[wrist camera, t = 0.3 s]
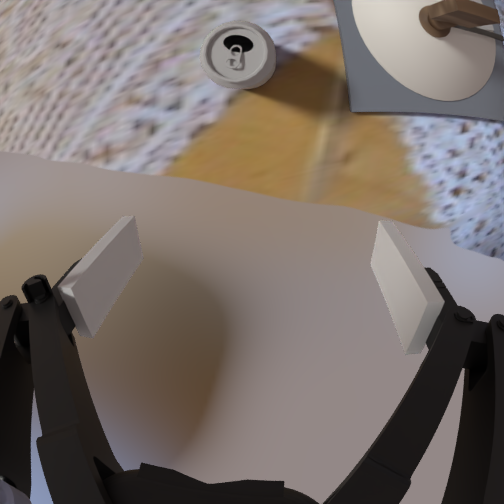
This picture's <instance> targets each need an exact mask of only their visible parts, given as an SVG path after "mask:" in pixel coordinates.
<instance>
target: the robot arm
mask: <svg viewBox="0 0 504 504" xmlns="http://www.w3.org/2000/svg"><path fill="white" fill-rule="evenodd" d="M142 260H143V253H142V249H141V244H140V240H139V235H138V230H137V225H136V220H135V216H123V217H122V218H121V219H120V220H119V221H118V222H117V223H116V224H115V225H114V226H113V227H112V228H111V229H110V230H109V231H108V232H107V233H106V234H105V235H104V236H103V237H102V238H101V239H100V240H99V241H98V242H97V243H96V244H95V245H94V246H93V248H92V249H91V250H90V251H89V252H88V253H87V254H86V255H85V256H84V257H83V258H81V259H80V260H78V261H77V262H75V263H74V264H73V265H72V266H71V267H70V268H69V269H68V271H67V272H66V273H65V274H64V276H62V277H61V279H60V280H59V281H58V282H57V283H56V284H55V285H54V287H53V288H52V289H51V287H50V285H49V283H48V280H47V278H46V276H45V275H35V276H33V277H31V278H29V279H28V280H27V281H25V283H24V284H23V285H22V291H23V293H24V295H25V297H26V299H27V301H28V303H23V304H20V302H19V300H18V298H17V296H14V295H10V296H7V297H5V298H3V299H2V300H1V301H0V504H31V501H30V493H31V418H32V417H31V416H32V403H33V392H34V390H35V397H36V403H37V409H38V415H39V420H40V424H41V429H42V436H41V437H38V438H37V441H36V442H37V449H38V453H39V457H40V461H41V465H42V469H43V472H44V476H45V479H46V482H47V486H48V489H49V492H50V495H51V498H52V501H53V503H54V504H319V503H318V502H316V501H315V500H313V499H312V498H310V497H309V496H307V495H305V494H303V493H301V492H298V491H296V490H293V489H289V488H285V487H284V481H264V480H241V481H233V482H225V483H216V484H207V483H204V482H201V481H198V480H196V479H194V478H191V477H189V476H187V475H184V474H182V473H180V472H177V471H175V470H172V469H167V468H162V467H158V466H154V465H150V464H145V463H141V465H140V469H136V470H127V471H124V470H123V469H122V467H121V466H120V464H119V463H118V462H117V460H116V459H115V456H114V455H113V452H112V450H111V448H110V445H109V443H108V440H107V438H106V436H105V433H104V431H103V428H102V426H101V423H100V420H99V418H98V415H97V412H96V409H95V406H94V404H93V401H92V398H91V395H90V392H89V389H88V386H87V382H86V379H85V376H84V372H83V369H82V365H81V361H80V358H79V354H78V350H77V346H76V342H75V338H74V336H73V334H72V330H73V329H74V327H76V329H77V331H78V333H79V335H80V336H84V337H89V338H94V336H95V334H96V333H97V331H98V329H99V328H100V326H101V324H102V323H103V321H104V319H105V317H106V316H107V314H108V313H109V311H110V309H111V308H112V306H113V305H114V303H115V301H116V300H117V298H118V297H119V295H120V294H121V292H122V290H123V289H124V287H125V286H126V284H127V282H128V281H129V279H130V278H131V277H132V275H133V273H134V272H135V270H136V269H137V267H138V266H139V264H140V263H141V262H142ZM371 267H372V270H373V272H374V274H375V277H376V279H377V281H378V284H379V286H380V289H381V291H382V294H383V296H384V299H385V301H386V304H387V306H388V309H389V312H390V314H391V317H392V320H393V322H394V325H395V328H396V331H397V333H398V336H399V339H400V342H401V345H402V347H403V351H404V353H405V355H407V354H418V353H421V351H422V350H423V348H424V346H425V344H427V347H428V349H429V351H428V353H427V355H426V357H425V359H424V361H423V362H422V364H421V366H420V368H419V370H418V372H417V374H416V376H415V378H414V379H413V381H412V383H411V385H410V386H409V388H408V390H407V392H406V393H405V395H404V397H403V398H402V400H401V402H400V403H399V405H398V407H397V408H396V410H395V411H394V413H393V415H392V416H391V418H390V419H389V421H388V422H387V424H386V425H385V427H384V428H383V430H382V431H381V432H380V434H379V435H378V437H377V438H376V440H375V441H374V443H373V444H372V445H371V447H370V448H369V449H368V451H367V452H366V453H365V455H364V456H363V457H362V459H361V460H360V461H359V463H358V464H357V465H356V466H355V467H354V469H353V470H352V471H351V472H350V474H349V475H348V476H347V477H346V479H345V480H344V481H343V482H342V483H341V484H340V485H339V487H338V488H337V489H336V490H335V491H334V492H333V493H332V494H331V495H330V496H329V497H328V498H327V499H326V501H325V502H324V503H323V504H399V503H400V501H401V500H402V498H403V497H404V495H405V494H406V492H407V490H408V489H409V487H410V484H411V480H410V478H411V476H412V474H413V472H414V471H415V469H416V467H417V466H418V464H419V462H420V460H421V459H422V457H423V455H424V453H425V451H426V449H427V447H428V446H429V444H430V442H431V440H432V438H433V436H434V434H435V432H436V430H437V428H438V426H439V424H440V422H441V419H442V417H443V415H444V413H445V410H446V408H447V406H448V404H449V401H450V399H451V396H452V394H453V392H454V389H455V386H456V384H457V381H458V379H459V376H460V373H461V370H462V368H465V373H464V388H463V398H462V408H461V416H460V423H459V430H458V436H457V442H456V447H455V452H454V457H453V462H452V466H451V470H450V474H449V479H448V483H447V486H446V490H445V493H444V497H443V500H442V503H441V504H504V316H503V315H501V314H495V315H493V316H492V317H491V319H490V321H489V323H487V322H482V321H477V320H476V318H475V316H474V314H473V313H472V312H471V311H470V310H468V309H466V308H465V307H462V306H458V305H457V304H456V302H455V300H454V299H453V297H452V296H451V294H450V292H449V291H448V289H447V288H446V286H445V284H444V283H442V280H441V278H440V277H439V275H438V274H437V273H436V272H435V271H433V270H432V269H431V268H424V267H423V265H422V264H421V262H420V261H419V259H418V258H417V256H416V255H415V253H414V252H413V250H412V249H411V247H410V246H409V244H408V243H407V241H406V240H405V239H404V237H403V236H402V234H401V233H400V231H399V230H398V228H397V227H396V226H395V224H394V223H393V222H392V221H383V220H379V224H378V229H377V235H376V240H375V245H374V250H373V255H372V260H371ZM14 341H15V342H14Z"/></svg>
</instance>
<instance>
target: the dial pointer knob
mask: <svg viewBox="0 0 504 504" xmlns="http://www.w3.org/2000/svg"><path fill="white" fill-rule="evenodd" d="M419 21H420V24H421V26H422V27H423V29H424V30H425V31H426V32H427V33H428V34H430V35H431V36H434V37H437V38H441V37H445V36H447V35H448V34H449V33H450V30H451V27H454V28H458V29H462V30H466V31H470V32H474V33H477V34H481V35H484V36H488V37H491V38H494V39H497V40H500V41H504V38H503V36H502V35H499V34H496V33H493V32H490V31H487V30H484V29H481V28H477V27H478V26H485V25H492V24H500V19H499V15H498V10H497V9H494V8H491V7H489V6H486V5H483V4H480V3H477V2H474V1H471V0H442V1H440V2H437V3H435V4H432V5H428V6H425V7H423V8H422V9H421V10H420V12H419Z"/></svg>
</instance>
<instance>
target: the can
mask: <svg viewBox="0 0 504 504" xmlns="http://www.w3.org/2000/svg"><path fill="white" fill-rule="evenodd" d="M200 62H201V66H202V69H203V70H204V72H205V73H206V75H207V76H208V78H210V79H211V80H212V81H214V82H215V83H216V84H218V85H221V86H223V87H226V88H234V89H252V88H257V87H259V86H261V85H263V84H265V83H266V82H267V81H268V80H269V79H270V78H271V77H272V75H273V73H274V71H275V67H276V51H275V47H274V43H273V40H272V39H271V37H270V36H269V34H268V33H267V32H266V31H265V30H263V29H262V28H261V27H259V26H258V25H256V24H253V23H250V22H247V21H232V22H228V23H224V24H222V25H220V26H218V27H216V28H215V29H213V30H212V31H211V32H210V33H209V34H208V35H207V36H206V38H205V39H204V42H203V44H202V46H201V50H200Z"/></svg>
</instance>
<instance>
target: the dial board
mask: <svg viewBox="0 0 504 504" xmlns="http://www.w3.org/2000/svg"><path fill="white" fill-rule="evenodd" d="M333 1H334V6H335V11H336V16H337V21H338V26H339V32H340V38H341V44H342V50H343V56H344V63H345V71H346V78H347V87H348V95H349V105H350V111H351V112H418V113H436V114H449V115H460V116H469V117H478V118H485V119H492V120H499V121H504V50H503V43H502V41H500V40H497V39H494V38H491V37H488V36H484V35H481V34H477V33H474V32H470V31H466V30H462V29H458V28H454V27H451V30H450V33H449V34H448V35H447V36H445V37H441V38H437V37H434V36H431V35H430V34H428V33H427V32H426V31H425V30H424V29H423V27H422V26H421V24H420V21H419V12H420V10H421V9H422V8H423V7H425V6H428V5H432V4H435V3H437V2H440V1H442V0H333ZM471 1H474V2H477V3H480V4H483V5H486V6H489V7H491V8H494V9H496V8H495V4H494V0H471ZM477 28H481V29H484V30H487V31H490V32H493V33H496V34H499V35H501V31H500V26H499V24H492V25H485V26H478V27H477Z"/></svg>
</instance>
